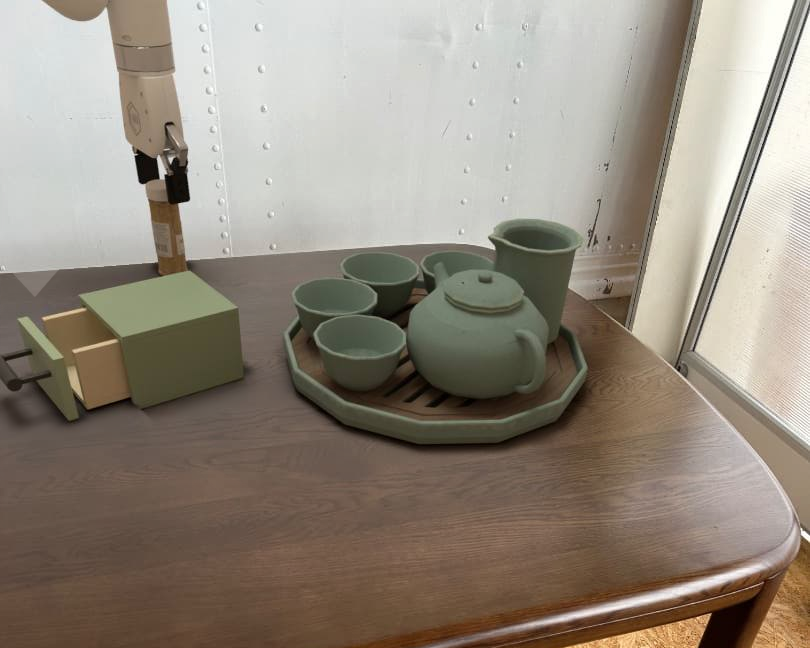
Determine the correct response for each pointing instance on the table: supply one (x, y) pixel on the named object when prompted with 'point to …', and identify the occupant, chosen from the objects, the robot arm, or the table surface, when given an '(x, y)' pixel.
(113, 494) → the table surface
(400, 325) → the tea set
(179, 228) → the sprinkles bottle
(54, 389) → the drawer
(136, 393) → the cabinet
